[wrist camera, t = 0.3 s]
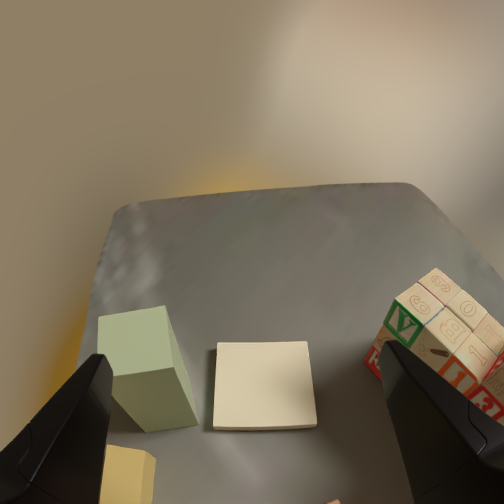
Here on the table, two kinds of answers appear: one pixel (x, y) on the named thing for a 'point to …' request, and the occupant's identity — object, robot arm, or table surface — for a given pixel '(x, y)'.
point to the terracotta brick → (334, 502)
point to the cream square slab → (263, 387)
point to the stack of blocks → (449, 339)
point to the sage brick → (147, 369)
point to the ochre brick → (127, 476)
